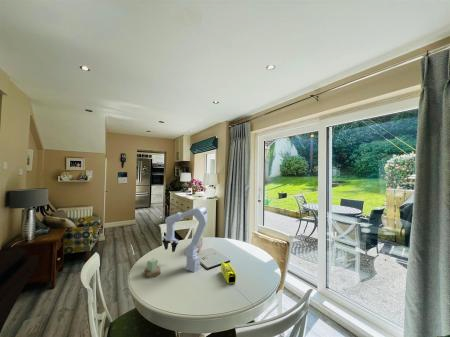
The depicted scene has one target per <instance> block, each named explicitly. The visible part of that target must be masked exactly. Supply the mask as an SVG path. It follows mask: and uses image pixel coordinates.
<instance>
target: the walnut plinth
mask: <svg viewBox="0 0 450 337" xmlns="http://www.w3.org/2000/svg"><path fill="white" fill-rule="evenodd" d="M143 271H144V272H143V276H144V277H145V278H147V279H152V278H156V277H158V276H159V275H160V274H161V267H160V266H159V265H157V269H156V270H154V271H152V272H151V271H149V270H147V267H146V268H145V269H144V270H143Z"/></svg>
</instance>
